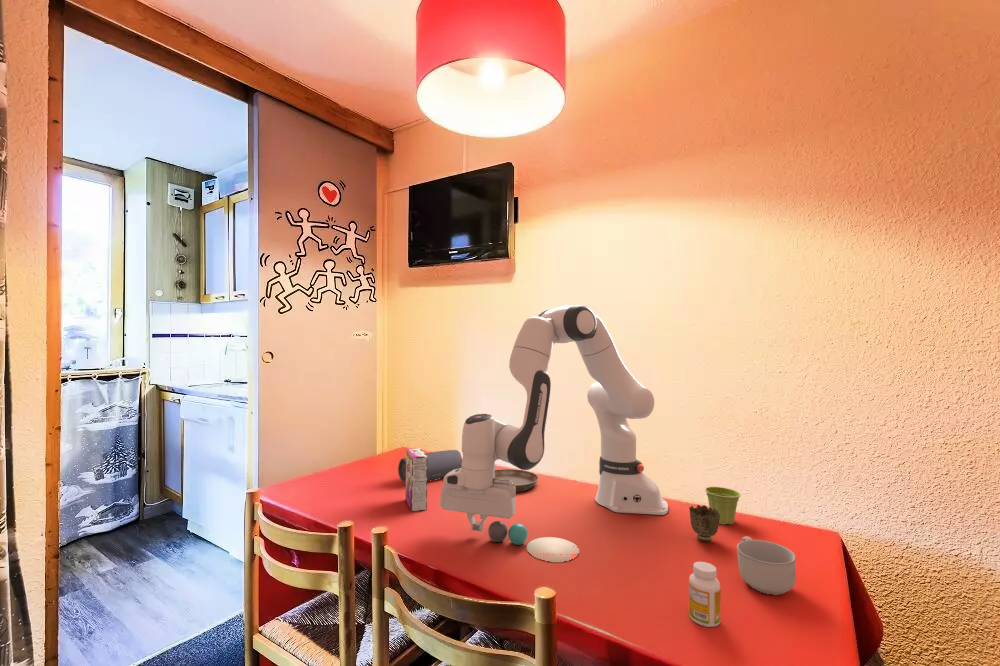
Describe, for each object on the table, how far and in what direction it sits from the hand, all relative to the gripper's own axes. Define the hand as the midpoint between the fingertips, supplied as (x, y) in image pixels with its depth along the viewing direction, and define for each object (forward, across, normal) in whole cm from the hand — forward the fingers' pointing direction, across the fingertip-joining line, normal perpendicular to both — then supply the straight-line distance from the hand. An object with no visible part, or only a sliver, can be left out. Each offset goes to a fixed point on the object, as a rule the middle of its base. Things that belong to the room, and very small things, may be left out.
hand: (477, 530), depth 116 cm
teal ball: (-1, -11, 0) cm, 11 cm away
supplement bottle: (+2, -52, +18) cm, 55 cm away
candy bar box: (+2, +26, -14) cm, 30 cm away
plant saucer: (+2, +4, -45) cm, 45 cm away
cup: (+2, -57, -19) cm, 60 cm away
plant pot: (+3, -64, -35) cm, 73 cm away
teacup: (+2, -66, 0) cm, 66 cm away
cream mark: (+2, -20, 0) cm, 20 cm away
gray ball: (-1, -6, +1) cm, 6 cm away
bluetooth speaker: (+2, +33, -40) cm, 52 cm away
